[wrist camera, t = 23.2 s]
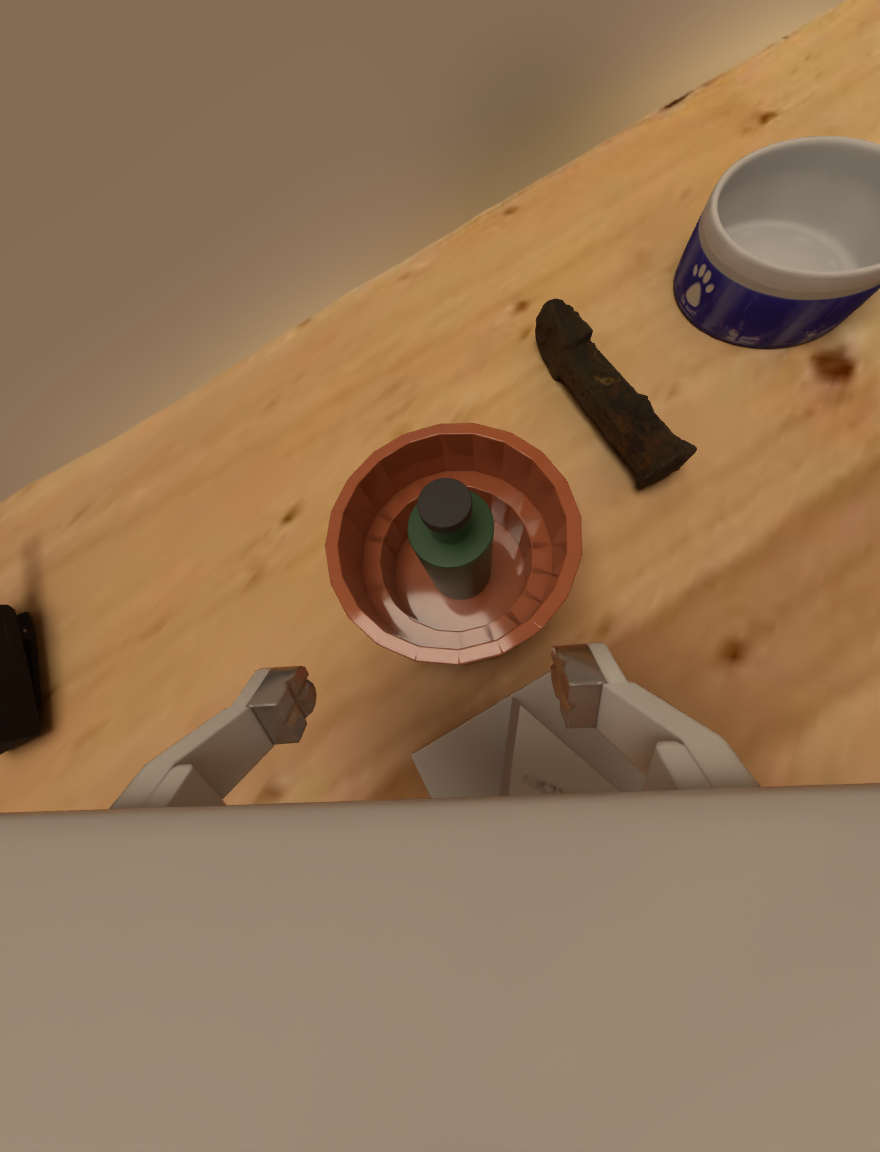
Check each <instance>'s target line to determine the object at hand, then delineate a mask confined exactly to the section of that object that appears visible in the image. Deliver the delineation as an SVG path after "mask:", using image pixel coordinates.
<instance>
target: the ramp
mask: <svg viewBox="0 0 880 1152" xmlns="http://www.w3.org/2000/svg"><path fill="white" fill-rule="evenodd" d="M411 757H412V759H413V761H414V763H415V765H416V768H417V770H418V772H419V774H420V776H421V778H422V780H423V782H424V784H425V786H426V788H427V791H428V793H429V795H430V797H431V798H455V797H484V796H513V795H542V794H571V793H601V792H630V791H642V790H643V787H644V783H645V780H646V777H645V776H644V775H643V774H642V773H641V772H640V771H639V770H638V769H637V768H636V767H635V766H634V765H633V764H632V763H631V762H630V761H629V760H628V759H627V758H626V757H625V756H624V755H623V754H622V753H620V752H619V751H618V750H617V749H616V748H615V747H614V746H613V745H612V744H611V743H610V742H609V741H608V740H607V739H606V738H605V737H604V736H603V735H602V734H601V733H600V732H599V731H598V730H596V728H566V726H565V724H564V721H563V718H562V715H561V712H560V700H559V699H558V698H557V697H556V696H555V693H554V690H553V685H552V679H551V671H549V672H548V673H546V674H544V675H543V676H541V677H539V678H538V679H536V680H534V681H533V682H531V683H529V684H528V685H526V686H524V687H523V688H521V689H519V690H518V691H516V692H514V693H513V694H511V695H509V696H508V697H506V698H504V699H503V700H501V701H499V702H498V703H496V704H494V705H493V706H491V707H489V708H488V709H486V710H485V711H483V712H481V713H480V714H478V715H476V716H475V717H473V718H471V719H470V720H468V721H466V722H465V723H463V724H461V725H460V726H458V727H456V728H455V729H453V730H451V731H450V732H448V733H446V734H445V735H443V736H441V737H440V738H438V739H436V740H435V741H433V742H431V743H430V744H428V745H426V746H425V747H423V748H421V749H420V750H418V751H416V752H415V753H413V754H411Z"/></svg>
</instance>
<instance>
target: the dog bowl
mask: <svg viewBox="0 0 880 1152" xmlns="http://www.w3.org/2000/svg"><path fill="white" fill-rule="evenodd" d="M879 288H880V144H877V143H873V142H870V141H866V140H862V139H856V138H849V137H839V136H812V137H804V138H796V139H790V140H786V141H781V142H778V143H774V144H771V145H768V146H766V147H763V148H761V149H758V150H756V151H754V152H752V153H750V154H748V155H746V156H745V157H743V158H742V159H740V160H739V161H737V162H736V163H735V164H733V165H732V166H731V167H730V168H729V169H728V170H727V171H726V172H725V173H724V174H723V175H722V177H721V178H720V180H719V181H718V183H717V184H716V186H715V188H714V190H713V192H712V193H711V195H710V197H709V199H708V202H707V204H706V206H705V208H704V210H703V212H702V214H701V216H700V218H699V220H698V223H697V225H696V227H695V229H694V231H693V233H692V235H691V237H690V240H689V242H688V244H687V246H686V248H685V251H684V253H683V255H682V257H681V260H680V262H679V264H678V267H677V270H676V273H675V278H674V292H675V296H676V300H677V303H678V305H679V307H680V309H681V310H682V312H683V313H684V314H685V316H686V317H687V318H688V319H689V320H690V321H691V322H692V323H693V324H694V325H695V326H697V327H698V328H699V329H701V330H702V331H704V332H706V333H707V334H709V335H711V336H713V337H716V338H718V339H720V340H723V341H726V342H729V343H732V344H736V345H741V346H747V347H754V348H780V347H789V346H794V345H798V344H802V343H805V342H808V341H811V340H814V339H816V338H818V337H821V336H822V335H824V334H826V333H828V332H829V331H831V330H832V329H834V328H835V327H836V326H838V325H839V324H840V323H841V322H842V321H844V320H845V319H846V318H847V317H848V316H849V315H851V314H852V313H853V312H854V311H855V310H856V309H857V308H859V307H860V306H861V305H862V304H863V303H864V302H865V301H866V300H867V299H868V298H870V297H871V296H872V295H873V294H874V293H875V292H876V291H877V290H878V289H879Z"/></svg>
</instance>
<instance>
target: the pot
mask: <svg viewBox="0 0 880 1152" xmlns="http://www.w3.org/2000/svg"><path fill="white" fill-rule="evenodd" d="M439 478H453V479H456V480H459V481H460V482H462V483H463V484H464V485H465V486H466V487H467V488H468V489H469V490H470V491H472V492H474V493H475V494H477V495H479V496H480V497H481V498H482V499H483V500H484V501H485V502H486V503H487V505H488V506H489V508H490V510H491V512H492V515H493V519H494V537H493V550H492V563H491V575H490V579H489V582H488V584H487V586H486V587H485V588H484V589H483V590H482V592H480V593H479V594H478V595H476V596H474V597H472V598H469V599H464V600H458V599H452V598H449V597H447V596H445V595H444V594H442V593H441V592H440V591H439V590H438V589H437V588H436V586H435V585H434V583H433V581H432V580H431V578H430V576H429V575H428V573H427V571H426V570H425V568H424V566H423V565H422V563H421V562H420V560H419V558H418V557H417V555H416V553H415V552H414V550H413V548H412V547H411V544H410V542H409V538H408V532H407V528H408V521H409V517H410V515H411V512H412V510H413V509H414V507H415V506H416V505H417V500H418V496H419V494H420V492H421V491H422V489H423V488H424V487H425V486H426V485H427V484H428V483H430V482H431V481H433V480H436V479H439ZM325 546H326V547H325V549H326V556H327V563H328V570H329V577H330V582H331V586H332V587H333V589H334V591H335V593H336V595H337V597H338V599H339V601H340V603H341V605H342V607H343V609H344V611H345V613H346V615H347V616H348V618H349V619H350V620H351V621H353V622H354V623H355V624H356V625H357V626H358V627H359V628H360V629H361V630H362V631H363V632H364V633H365V634H366V635H367V636H368V637H370V638H371V639H372V640H373V641H374V642H375V643H376V644H378V645H380V646H382V647H384V648H386V649H389V650H391V651H393V652H395V653H398V654H400V655H402V656H404V657H407V658H409V659H411V660H413V661H417V662H428V663H439V664H451V665H470V664H474V663H479V662H483V661H487V660H491V659H495V658H498V657H500V656H501V655H503V654H505V653H506V652H508V651H510V650H511V649H513V648H514V647H516V646H517V645H519V644H521V643H522V642H524V641H525V640H527V639H528V638H530V637H532V636H533V635H535V634H536V633H538V632H540V630H542V629H543V628H544V626H545V625H546V624H547V623H548V621H549V620H550V619H551V617H552V616H553V615H554V614H555V612H556V611H557V610H558V609H559V607H560V606H561V605H562V604H563V602H564V601H565V600H566V599H567V597H568V595H569V593H570V590H571V587H572V584H573V581H574V578H575V575H576V573H577V570H578V567H579V564H580V561H581V556H582V530H581V515H580V513H579V510H578V508H577V505H576V502H575V500H574V497H573V495H572V492H571V490H570V487H569V485H568V482H567V481H566V479H565V478H564V476H563V475H562V474H561V473H560V472H559V471H558V469H557V468H556V467H555V466H554V465H553V464H552V462H551V461H550V460H549V459H548V458H547V457H546V455H545V454H544V453H542V451H540V450H539V449H537V448H535V447H534V446H532V445H530V444H529V443H527V442H526V441H524V440H522V439H521V438H519V437H517V436H516V435H514V434H513V433H510V432H506V431H502V430H499V429H495V428H491V427H487V426H484V425H480V424H475V423H455V424H439V425H438V424H437V425H434V426H430V427H427V428H423V429H420V430H416V431H413V432H409V433H406V434H403V435H401V436H399V437H398V438H396V439H394V440H393V441H391V442H389V443H388V444H386V445H384V446H383V447H381V448H380V449H378V450H376V451H375V452H373V453H372V454H371V455H370V456H369V457H368V458H367V459H366V460H365V461H364V463H363V464H362V465H361V466H360V467H359V468H358V469H357V470H356V471H355V472H354V473H353V474H352V475H351V476H350V477H349V479H348V480H347V482H346V484H345V485H344V487H343V489H342V491H341V493H340V495H339V497H338V499H337V501H336V503H335V505H334V507H333V509H332V511H331V515H330V521H329V527H328V532H327V538H326V543H325Z"/></svg>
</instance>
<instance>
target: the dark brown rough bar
mask: <svg viewBox="0 0 880 1152" xmlns="http://www.w3.org/2000/svg"><path fill="white" fill-rule="evenodd" d="M592 332H593V330H592V329H591V328H590V326H589V325H588V324H587V323H586V322H585V321H584V320H582V319H581V317H580V316H579V313H578V312H576V311H574V310H573V307H571V306H570V305H566V304H565V303H564V301H563V300H560V299H553V300H549V301H547V302H546V303H545V304H544V305H543V307H542V309H541V311H540V313H539V315H538V316H537V318H536V329H535V335H536V336H535V337H536V341H537V345H538V347H539V350H540V352H541V355H542V357H543V359H544V361H545V362H546V364H547V366H548V368H549V370H550V372H551V374H552V376H553V377H554V379H555V380H563V381H564V382H565V383H566V385H567V386H568V387H569V388H570V390H571V391H572V393H573V394H574V396H575V397H576V398H577V400H578V401H579V403H580V405H581V406H582V407H583V409H584V410H585V411H586V412H587V413H588V414H589V415H590V416H591V417H592V419H593V420H594V421H595V423H596V424H597V425H598V427H599V428H600V429H601V431H602V433H603V434H604V436H605V437H606V438H607V439H608V441H609V443H610V444H611V445H612V446H613V447H614V448H616V449H617V451H618V452H619V454H620V455H621V456H622V457H623V458H624V459H625V461H626V462H627V463H628V464H629V466H630V467H631V468H632V470H633V471H634V472H635V474H636V477H637V484H636V487H637V488H638V489H643V488H645V487H647V486H649V485H652V484H654V483H656V482H658V481H660V480H662V479H664V478H665V477H667V476H669V475H670V474H671V473H673V472H674V471H677V470H679V468H680V467H681V466H682V465H683V464H684V463H685V462H686V461H687V460H688V459H689V458H690V457H691V456H692V455H693V454H694V453H695V452H696V450H697V448H696V447H695V446H694V445H692V444H690V443H689V442H687V441H684V440H681V439H680V438H679V437H677V436H676V435H674V434H673V433H672V432H671V431H670V429H669V428H668V427H667V426H666V425H665V423H664V422H663V421H661V420H660V418H659V417H658V416H657V415H656V414H655V413H654V410H653V408H652V406H651V403H650V401H649V400H648V396H646V395H642V394H638V393H637V392H636V391H635V390H634V388H633V387H632V386H630V384H629V383H628V382H627V381H626V380H625V379H624V378H623V377H622V376H621V374H620V373H619V372H618V371H617V370H616V369H615V368H614V367H613V365H612V364H611V363H610V362H609V361H608V360H607V359H606V358H605V357H604V356H603V355H602V354H601V352H600V351H599V350H598V349H597V348H596V346H595V343H592V342H591V341H590V339H591V336H592Z"/></svg>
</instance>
